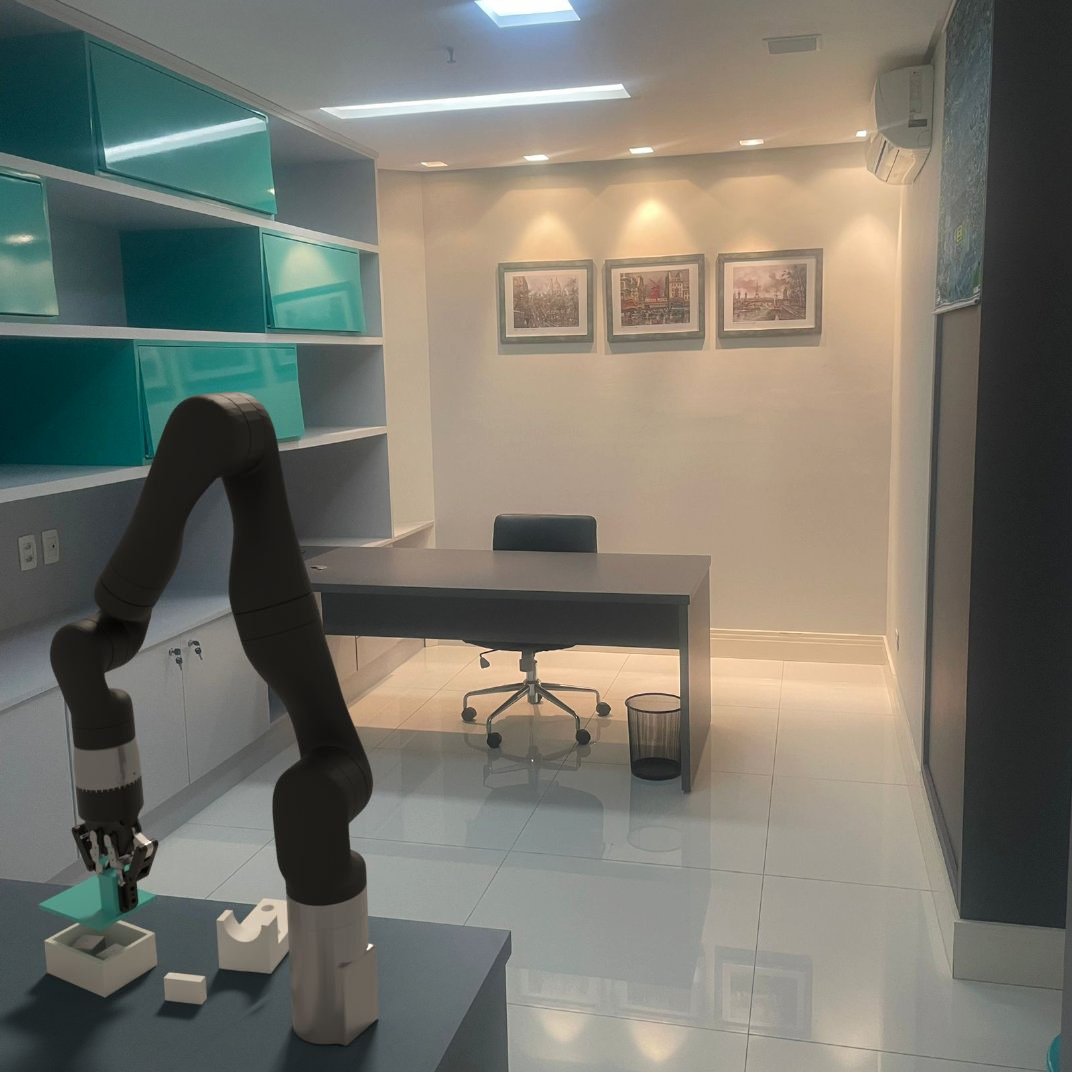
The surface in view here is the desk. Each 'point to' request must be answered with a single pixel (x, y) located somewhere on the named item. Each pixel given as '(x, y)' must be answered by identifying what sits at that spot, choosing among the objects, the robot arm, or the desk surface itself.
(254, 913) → the bracket
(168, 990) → the eraser
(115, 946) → the block
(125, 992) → the desk surface
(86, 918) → the lid
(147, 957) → the tub
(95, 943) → the block
